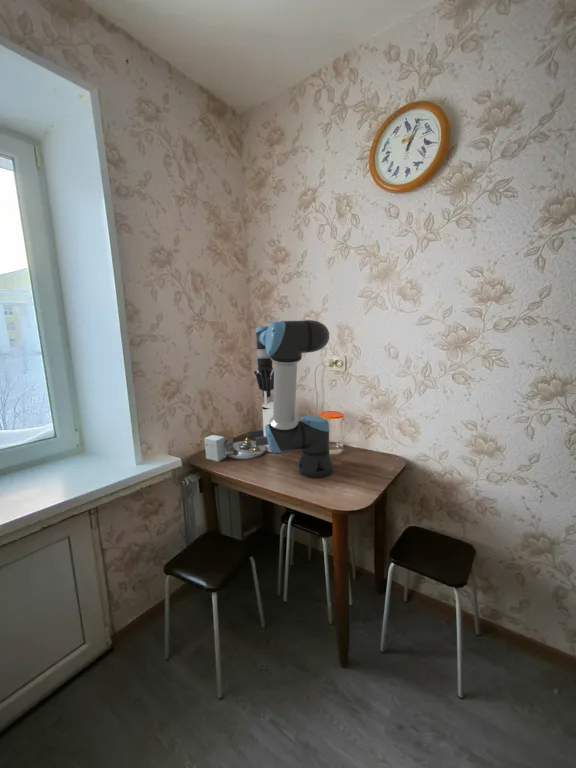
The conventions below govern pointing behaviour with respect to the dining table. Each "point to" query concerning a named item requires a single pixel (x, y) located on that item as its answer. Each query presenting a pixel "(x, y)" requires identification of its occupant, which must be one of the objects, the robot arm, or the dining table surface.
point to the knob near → (260, 442)
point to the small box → (215, 448)
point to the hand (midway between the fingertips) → (267, 403)
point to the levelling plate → (245, 450)
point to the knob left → (229, 445)
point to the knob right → (253, 435)
